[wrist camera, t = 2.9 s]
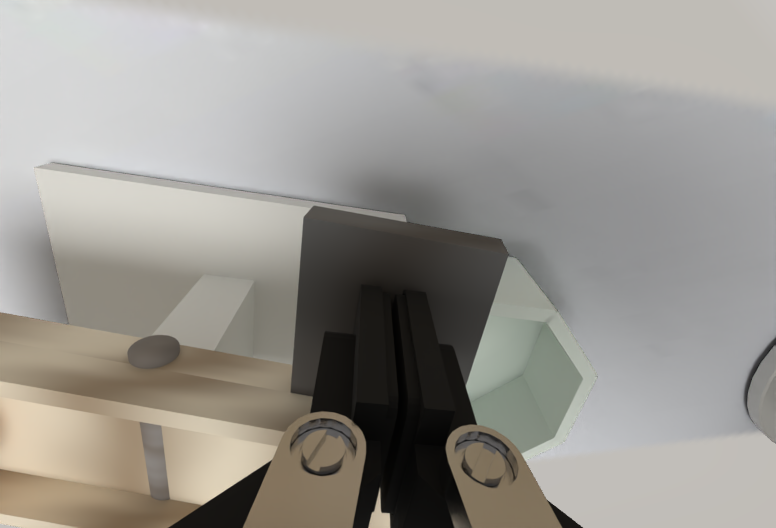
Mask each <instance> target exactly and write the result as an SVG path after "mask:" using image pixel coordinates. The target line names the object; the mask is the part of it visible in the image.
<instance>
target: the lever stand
mask: <svg viewBox="0 0 776 528" xmlns="http://www.w3.org/2000/svg"><path fill="white" fill-rule="evenodd" d="M34 172H35V176H36V181H37V185H38V189H39V194H40V198H41V203H42V207H43V212H44V216H45V221H46V225H47V229H48V234H49V238H50V243H51V247H52V252H53V256H54V260H55V265H56V269H57V274H58V278H59V283H60V287H61V292H62V296H63V300H64V305H65V309H66V314H67V318H68V323H69V325H73V326H79V327H84V328H90V329H95V330H101V331H106V332H112V333H118V334H123V335H129V336H134V337H140V338H145V337H148V336H153V335H168V336H171V337H174V338H175V339H177V340H178V342H179V344H180V345H185V346H190V347H196V348H201V349H207V350H212V351H218V352H224V353H229V354H235V355H240V356H246V357H251V358H257V359H263V360H268V361H274V362H279V363H285V364H290V365H292V364H293V351H294V337H295V324H296V310H297V297H298V283H299V270H300V257H301V243H302V230H303V217H304V216H305V215H306V214H307V213H308V211H309V210H310V209H311V208H312V207H313V206H320V207H325V208H331V209H337V210H342V211H348V212H353V213H359V214H364V215H370V216H375V217H381V218H386V219H392V220H397V221H403V222H407V221H406V217H405V215H402V214H395V213H388V212H381V211H375V210H368V209H361V208H354V207H347V206H341V205H334V204H327V203H320V202H314V201H307V200H300V199H293V198H287V197H280V196H273V195H266V194H259V193H253V192H246V191H239V190H232V189H226V188H219V187H212V186H205V185H198V184H192V183H185V182H178V181H171V180H165V179H158V178H151V177H144V176H138V175H131V174H124V173H117V172H110V171H104V170H97V169H90V168H83V167H77V166H70V165H63V164H56V163H49V164H45V165H41V166H38V167H34Z"/></svg>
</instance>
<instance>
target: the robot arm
mask: <svg viewBox="0 0 776 528" xmlns="http://www.w3.org/2000/svg"><path fill="white" fill-rule="evenodd" d="M747 407H748V411H749V415H750V418H751V419H752V421H753V422H754V424H755V425H756V427H757V428H758V429H759V430H760V431H761V432H763V433H764V434H765V435H766V436H767V437H768V438H769V439H770V440H771V441H773V442H775V443H776V344H775V345H774V346H773V348H772V349H771V350H770V351H769V353H768V354H767V355H766V357H765V358H764V359H763V360H762V362H761V363H760V365H759V367H758V369H757V370H756V372H755V374H754V376H753V378H752V381H751V384H750V387H749V391H748V401H747ZM379 490H380V503H381V512H382V513H390V528H583V527H581V526H580V525H579V524H577V523H576V522H575V521H574V520H572V519H571V518H570V517H568V516H567V515H566V514H565V513H563V512H562V511H561V510H559V509H558V508H557V507H556V506H554V505H553V504H551V503H550V502H549V501H548V500H547V499H546V497H545V496H544V494H543V492H542V490H541V489H540V487H539V485H538V483H537V481H536V479H535V478H534V476H533V474H532V472H531V470H530V469H529V467H528V465H527V463H526V461H525V459H524V458H523V456H522V454H521V453H520V452H519V450H518V449H517V447H516V446H515V445H514V444H513V443H512V442H511V441H510V440H509V439H508V438H506V437H505V436H504V435H502V434H501V433H499V432H497V431H495V430H494V429H491V428H488V427H485V426H481V425H477V422H476V419H475V416H474V412H473V409H472V406H471V402H470V399H469V396H468V393H467V389H466V386H465V383H464V379H463V376H462V373H461V369H460V366H459V363H458V360H457V356H456V353H455V350H454V348H453V346H452V345H448V344H439V343H438V339H437V335H436V331H435V327H434V323H433V319H432V315H431V311H430V307H429V303H428V299H427V295H426V292H420V291H412V290H404V291H403V293H402V295H400V294H395V297H394V301H393V306H392V312H391V303H390V293H384V292H382V287H380V286H372V285H364V284H361V286H360V292H359V299H358V305H357V312H356V318H355V325H354V332H353V334H348V333H339V332H330V331H325V332H324V337H323V343H322V348H321V354H320V360H319V365H318V371H317V377H316V382H315V388H314V393H313V399H312V405H311V410H310V413H309V414H307V415H305V416H303V417H300V418H298V419H297V420H296V421H295V422H293V423H292V424H291V425H290V426H289V427H288V428H287V430H286V431H285V433H284V435H283V436H282V438H281V441H280V443H279V445H278V448H277V450H276V452H275V455H274V457H273V459H272V460H271V461H269V462H268V463H266V464H265V465H263V466H262V467H260V468H259V469H257V470H256V471H254V472H252V473H251V474H249V475H248V476H246V477H245V478H243V479H242V480H240V481H239V482H237V483H236V484H234V485H233V486H231V487H230V488H228V489H226V490H225V491H223V492H222V493H220V494H219V495H217V496H216V497H214V498H213V499H211V500H210V501H208V502H207V503H205V504H204V505H202V506H200V507H199V508H197V509H196V510H194V511H193V512H191V513H190V514H188V515H187V516H185V517H184V518H182V519H181V520H179V521H178V522H176V523H174V524H173V525H171V526H170V527H168V528H368V527H369V523H370V519H371V514H372V512H374V510H375V506H376V502H377V498H378V494H379Z"/></svg>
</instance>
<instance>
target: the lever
mask: <svg viewBox="0 0 776 528" xmlns="http://www.w3.org/2000/svg"><path fill="white" fill-rule="evenodd" d="M508 255H509V254H508V252H507V250H506V248H505V246H504V244H503V242H502V240H501V239H497V238H491V237H486V236H480V235H475V234H469V233H464V232H458V231H453V230H447V229H442V228H436V227H430V226H425V225H419V224H414V223H408V222H403V221H397V220H392V219H386V218H381V217H375V216H370V215H364V214H359V213H353V212H348V211H342V210H337V209H331V208H325V207H320V206H313V207H312V208H311V209H310V210H309V211H308V213H307V214H306V215H305V216H304V217H303V230H302V243H301V257H300V270H299V283H298V297H297V310H296V324H295V337H294V351H293V364H292V365H290V364H285V363H279V362H274V361H268V360H263V359H257V358H251V357H246V356H240V355H235V354H229V353H224V352H218V351H212V350H207V349H201V348H196V347H190V346H185V345H180V344H179V342H178V340H177V339H175V338H174V337H171V336H168V335H153V336H148V337H145V338H140V337H134V336H129V335H123V334H118V333H112V332H106V331H101V330H95V329H90V328H84V327H79V326H73V325H67V324H62V323H56V322H51V321H45V320H40V319H34V318H28V317H23V316H17V315H12V314H6V313H1V312H0V524H4V525H10V526H16V527H21V528H168V527H170V526H171V525H173V524H174V523H176V522H178V521H179V520H181V519H182V518H184V517H185V516H187V515H188V514H190V513H191V512H193V511H194V510H196V509H197V508H199V507H200V506H202V505H204V504H205V503H207V502H208V501H210V500H211V499H213V498H214V497H216V496H217V495H219V494H220V493H222V492H223V491H225V490H226V489H228V488H230V487H231V486H233V485H234V484H236V483H237V482H239V481H240V480H242V479H243V478H245V477H246V476H248V475H249V474H251V473H252V472H254V471H256V470H257V469H259V468H260V467H262V466H263V465H265V464H266V463H268V462H269V461H271V460H272V459H273V457H274V455H275V452H276V450H277V448H278V445H279V443H280V441H281V438H282V436H283V435H284V433H285V431H286V430H287V428H288V427H289V426H290V425H291V424H292V423H293V422H295V421H296V420H297V419H298V418H300V417H303V416H305V415H307V414H309V413H310V410H311V405H312V399H313V393H314V388H315V382H316V377H317V371H318V365H319V360H320V354H321V348H322V343H323V337H324V332H325V331H330V332H339V333H348V334H353V332H354V325H355V318H356V312H357V305H358V299H359V292H360V286H361V284H364V285H372V286H380V287H382V292H384V293H390V303H391V312H392V306H393V301H394V297H395V294H400V295H402V293H403V291H404V290H412V291H420V292H426V295H427V299H428V303H429V307H430V311H431V315H432V319H433V323H434V327H435V331H436V335H437V339H438V343H439V344H448V345H452V346H453V348H454V350H455V353H456V356H457V360H458V363H459V366H460V369H461V373H462V376H463V379H464V383H465V386H466V384H467V381H468V378H469V375H470V372H471V369H472V366H473V363H474V359H475V356H476V353H477V350H478V347H479V344H480V341H481V338H482V335H483V332H484V329H485V326H486V323H487V320H488V317H489V313H490V310H491V307H492V304H493V301H494V298H495V295H496V292H497V289H498V286H499V283H500V280H501V277H502V274H503V271H504V268H505V264H506V261H507V258H508ZM368 528H390V513H382V512H381V503H380V490H379V494H378V498H377V502H376V506H375V510H374V512H372V514H371V519H370V523H369V527H368Z"/></svg>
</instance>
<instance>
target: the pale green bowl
mask: <svg viewBox="0 0 776 528" xmlns="http://www.w3.org/2000/svg"><path fill="white" fill-rule="evenodd" d="M596 379H597V373H596V372H595V370H594V368H593V367H592V365H591V364H590V362H589V360H588V359H587V357H586V355H585V354H584V352H583V351H582V349H581V347H580V346H579V344H578V343H577V341H576V339H575V338H574V336H573V335H572V333H571V331H570V330H569V328H568V326H567V325H566V323H565V322H564V320H563V318H562V317H561V315H560V314H559V312H558V311H557V309H556V308H555V307H554V305H553V304H552V303H551V302H550V300H549V299H548V298H547V296H546V295H545V294H544V293H543V291H542V290H541V289H540V287H539V286H538V285H537V284H536V282H535V281H534V280H533V278H532V277H531V276H530V275H529V273H528V272H527V271H526V269H525V268H524V267H523V265H522V264H521V263H520V262H519V260H518V259H516V258H514V257H508V258H507V261H506V264H505V268H504V271H503V274H502V277H501V280H500V283H499V286H498V289H497V292H496V295H495V298H494V301H493V304H492V307H491V310H490V313H489V317H488V320H487V323H486V326H485V329H484V332H483V335H482V338H481V341H480V344H479V347H478V350H477V353H476V356H475V359H474V363H473V366H472V369H471V372H470V375H469V378H468V381H467V384H466V389H467V393H468V396H469V399H470V402H471V406H472V409H473V412H474V416H475V419H476V422H477V425H481V426H485V427H488V428H491V429H494V430H495V431H497V432H499V433H501V434H502V435H504V436H505V437H506V438H508V439H509V440H510V441H511V442H512V443H513V444H514V445H515V446H516V447H517V449H518V450H519V452H520V453H521V454H522V456H523V458H524V459H525V461H526V460H528V459H530V458H532V457H535V456H537V455H539V454H541V453H543V452H545V451H547V450H549V449H552V448H554V447H556V446H558V445H560V444H562V443H563V442H565V440H566V438H567V436H568V434H569V432H570V430H571V428H572V426H573V424H574V422H575V420H576V418H577V416H578V414H579V412H580V411H581V409H582V407H583V405H584V403H585V401H586V399H587V397H588V395H589V393H590V391H591V389H592V387H593V385H594V383H595V381H596Z"/></svg>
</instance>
